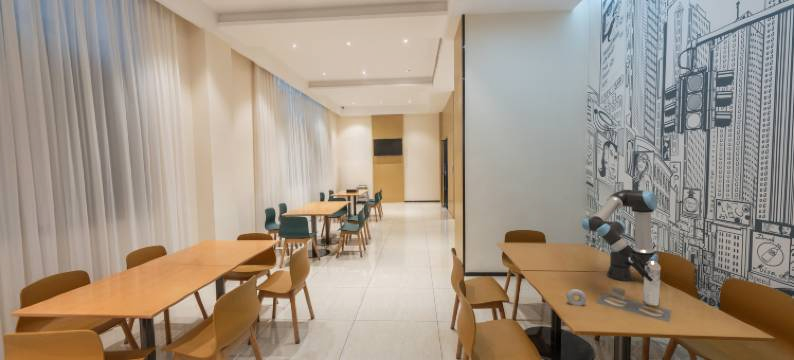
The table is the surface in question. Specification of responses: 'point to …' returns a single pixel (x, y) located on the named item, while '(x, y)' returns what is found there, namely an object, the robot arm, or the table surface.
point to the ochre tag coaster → (651, 310)
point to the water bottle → (649, 290)
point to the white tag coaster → (619, 295)
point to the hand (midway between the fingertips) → (657, 283)
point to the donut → (576, 302)
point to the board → (635, 308)
